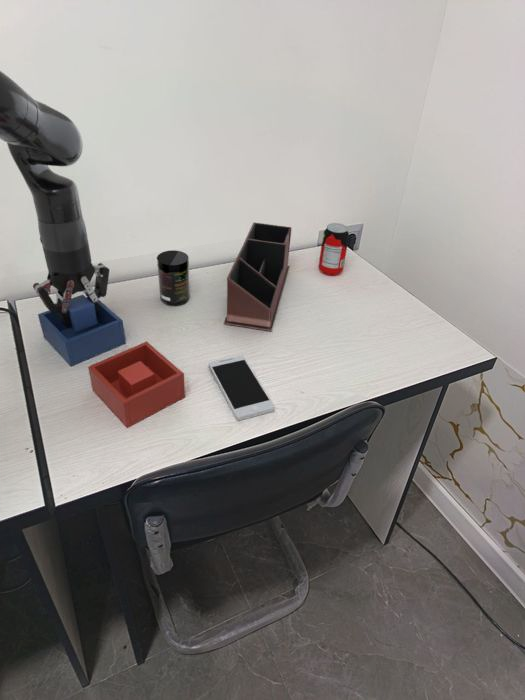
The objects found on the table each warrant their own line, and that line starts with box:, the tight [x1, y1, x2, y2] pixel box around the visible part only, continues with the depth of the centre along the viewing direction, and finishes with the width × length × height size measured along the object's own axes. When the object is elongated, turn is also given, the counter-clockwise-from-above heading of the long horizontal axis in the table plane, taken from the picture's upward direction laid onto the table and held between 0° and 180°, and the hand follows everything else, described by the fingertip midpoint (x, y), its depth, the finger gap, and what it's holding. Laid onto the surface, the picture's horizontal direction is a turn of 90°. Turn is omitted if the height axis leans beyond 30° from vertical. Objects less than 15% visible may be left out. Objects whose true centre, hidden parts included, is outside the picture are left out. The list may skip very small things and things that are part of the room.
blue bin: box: [37, 296, 127, 367], centre depth 97 cm, size 12×12×6 cm
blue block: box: [68, 294, 98, 332], centre depth 94 cm, size 4×4×4 cm
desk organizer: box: [223, 222, 292, 332], centre depth 113 cm, size 10×29×11 cm, turn 170°
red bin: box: [87, 340, 186, 429], centre depth 86 cm, size 12×12×6 cm
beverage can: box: [318, 222, 350, 277], centre depth 124 cm, size 6×6×12 cm
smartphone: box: [208, 354, 275, 421], centre depth 90 cm, size 7×16×1 cm, turn 23°
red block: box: [118, 361, 155, 397], centre depth 86 cm, size 4×4×4 cm
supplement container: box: [156, 250, 191, 307], centre depth 109 cm, size 7×7×10 cm
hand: (81, 321), depth 96 cm, fingers closed on blue block, 4 cm apart
